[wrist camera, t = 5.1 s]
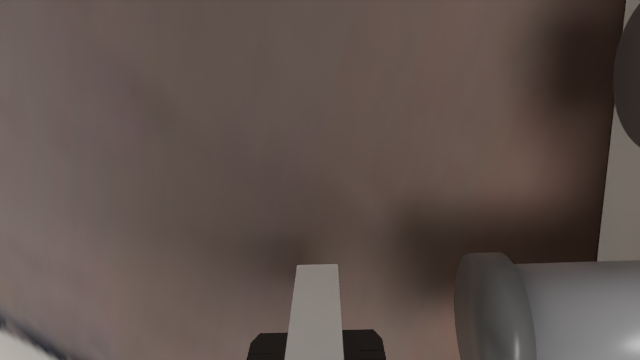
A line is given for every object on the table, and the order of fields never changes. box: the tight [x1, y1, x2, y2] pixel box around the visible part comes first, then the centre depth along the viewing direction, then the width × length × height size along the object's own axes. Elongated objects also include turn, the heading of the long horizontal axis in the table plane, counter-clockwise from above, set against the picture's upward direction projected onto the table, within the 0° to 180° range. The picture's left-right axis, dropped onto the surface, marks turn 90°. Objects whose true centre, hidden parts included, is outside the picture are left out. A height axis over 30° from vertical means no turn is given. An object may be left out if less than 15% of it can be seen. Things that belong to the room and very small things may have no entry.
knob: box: [454, 252, 640, 360], centre depth 16 cm, size 5×9×5 cm, turn 92°
